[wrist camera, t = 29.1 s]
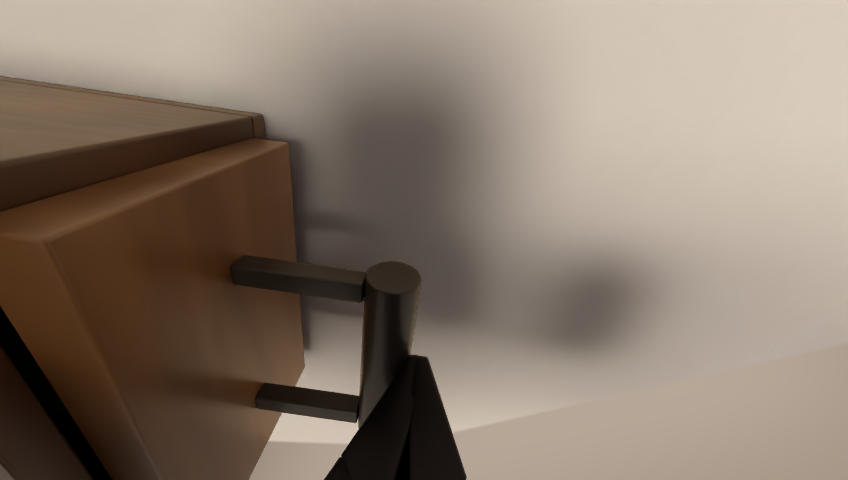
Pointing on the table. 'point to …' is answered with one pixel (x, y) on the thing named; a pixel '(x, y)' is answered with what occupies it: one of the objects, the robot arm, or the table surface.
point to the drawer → (187, 314)
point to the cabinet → (73, 169)
